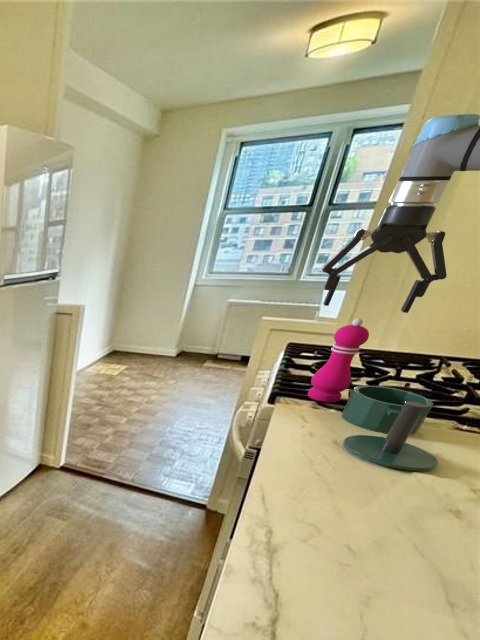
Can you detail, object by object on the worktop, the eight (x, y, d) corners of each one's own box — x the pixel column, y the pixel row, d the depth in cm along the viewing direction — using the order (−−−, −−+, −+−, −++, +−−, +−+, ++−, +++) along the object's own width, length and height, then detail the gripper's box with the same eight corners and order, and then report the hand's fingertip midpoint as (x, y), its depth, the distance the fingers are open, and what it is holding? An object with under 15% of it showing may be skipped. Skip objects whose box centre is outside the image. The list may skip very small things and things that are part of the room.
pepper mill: (346, 399, 121) (385, 319, 111) (333, 405, 118) (372, 324, 108) (312, 390, 126) (346, 313, 117) (299, 396, 123) (333, 317, 114)
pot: (408, 414, 113) (422, 388, 109) (426, 445, 100) (443, 416, 97) (337, 403, 119) (349, 378, 116) (346, 430, 106) (359, 403, 103)
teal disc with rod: (426, 450, 98) (456, 399, 92) (443, 481, 88) (478, 425, 83) (338, 434, 105) (362, 386, 99) (345, 460, 95) (372, 408, 90)
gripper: (336, 204, 104) (296, 304, 115) (506, 206, 92) (444, 318, 102) (332, 203, 110) (295, 299, 120) (493, 204, 97) (435, 311, 107)
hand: (363, 308), depth 111 cm, fingers open, 13 cm apart
